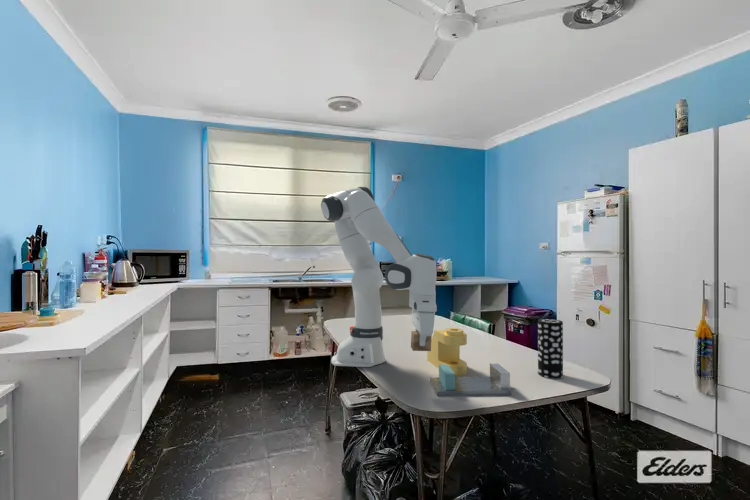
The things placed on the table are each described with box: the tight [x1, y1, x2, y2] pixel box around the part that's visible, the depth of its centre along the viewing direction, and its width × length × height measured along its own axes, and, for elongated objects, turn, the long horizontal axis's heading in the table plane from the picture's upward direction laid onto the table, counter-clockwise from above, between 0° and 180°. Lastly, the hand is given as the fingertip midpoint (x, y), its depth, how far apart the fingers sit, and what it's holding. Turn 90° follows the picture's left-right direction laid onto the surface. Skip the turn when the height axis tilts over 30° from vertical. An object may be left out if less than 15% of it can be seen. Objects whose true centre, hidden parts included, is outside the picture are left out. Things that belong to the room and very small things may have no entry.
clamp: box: [426, 327, 468, 376], centre depth 147 cm, size 20×9×16 cm, turn 15°
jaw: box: [438, 364, 456, 390], centre depth 124 cm, size 3×10×5 cm, turn 2°
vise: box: [429, 363, 513, 397], centre depth 125 cm, size 24×13×6 cm, turn 92°
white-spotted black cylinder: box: [537, 318, 564, 380], centre depth 137 cm, size 8×8×20 cm
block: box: [410, 330, 433, 352], centre depth 125 cm, size 6×4×6 cm
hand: (420, 343), depth 125 cm, fingers closed on block, 4 cm apart
